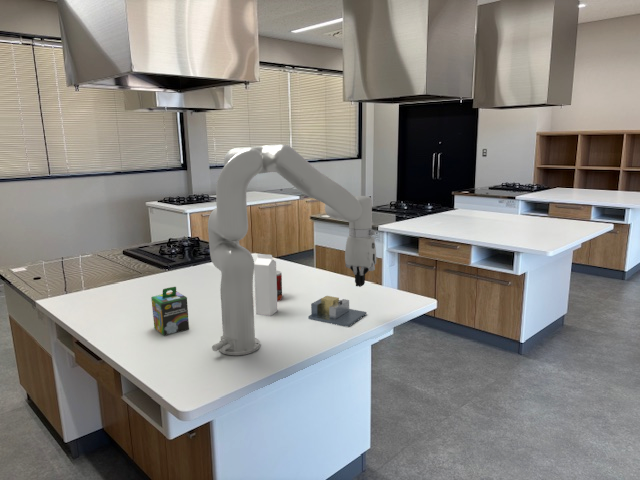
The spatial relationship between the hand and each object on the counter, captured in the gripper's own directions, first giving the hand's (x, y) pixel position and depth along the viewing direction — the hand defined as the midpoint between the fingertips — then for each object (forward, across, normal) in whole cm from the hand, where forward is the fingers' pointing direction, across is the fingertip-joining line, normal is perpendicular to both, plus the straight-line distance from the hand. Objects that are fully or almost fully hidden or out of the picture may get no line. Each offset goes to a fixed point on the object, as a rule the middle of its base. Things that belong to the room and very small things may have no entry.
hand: (359, 285), depth 160 cm
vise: (+13, +9, 0) cm, 16 cm away
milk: (+13, +34, +9) cm, 37 cm away
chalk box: (+13, +52, +38) cm, 66 cm away
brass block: (+12, +12, 0) cm, 17 cm away
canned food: (+13, +42, -5) cm, 44 cm away
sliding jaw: (+12, +8, 0) cm, 14 cm away
